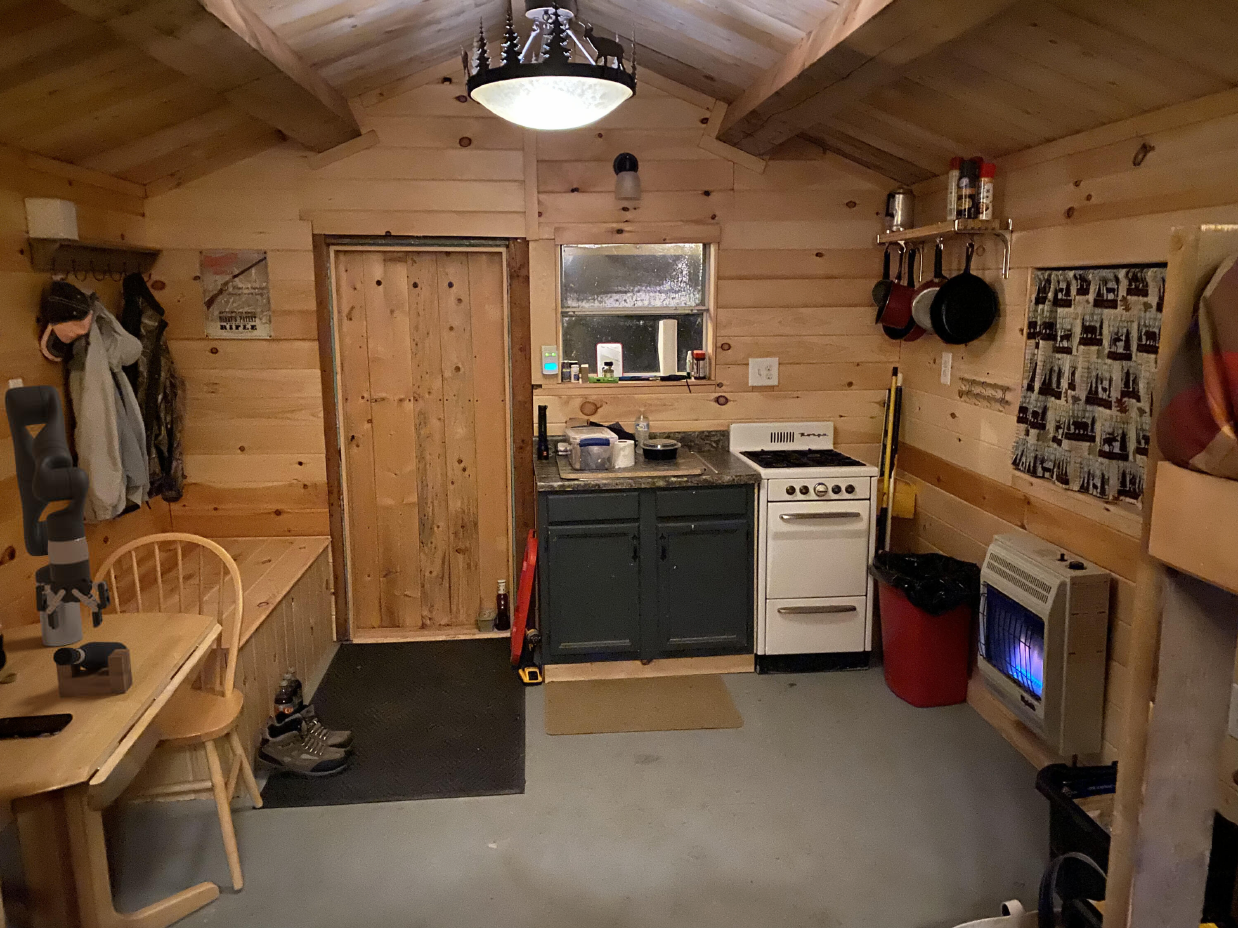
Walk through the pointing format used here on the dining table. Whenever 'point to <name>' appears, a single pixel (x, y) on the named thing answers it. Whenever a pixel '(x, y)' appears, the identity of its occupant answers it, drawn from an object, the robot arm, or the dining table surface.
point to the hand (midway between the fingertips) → (76, 627)
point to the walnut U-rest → (96, 677)
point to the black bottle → (87, 655)
